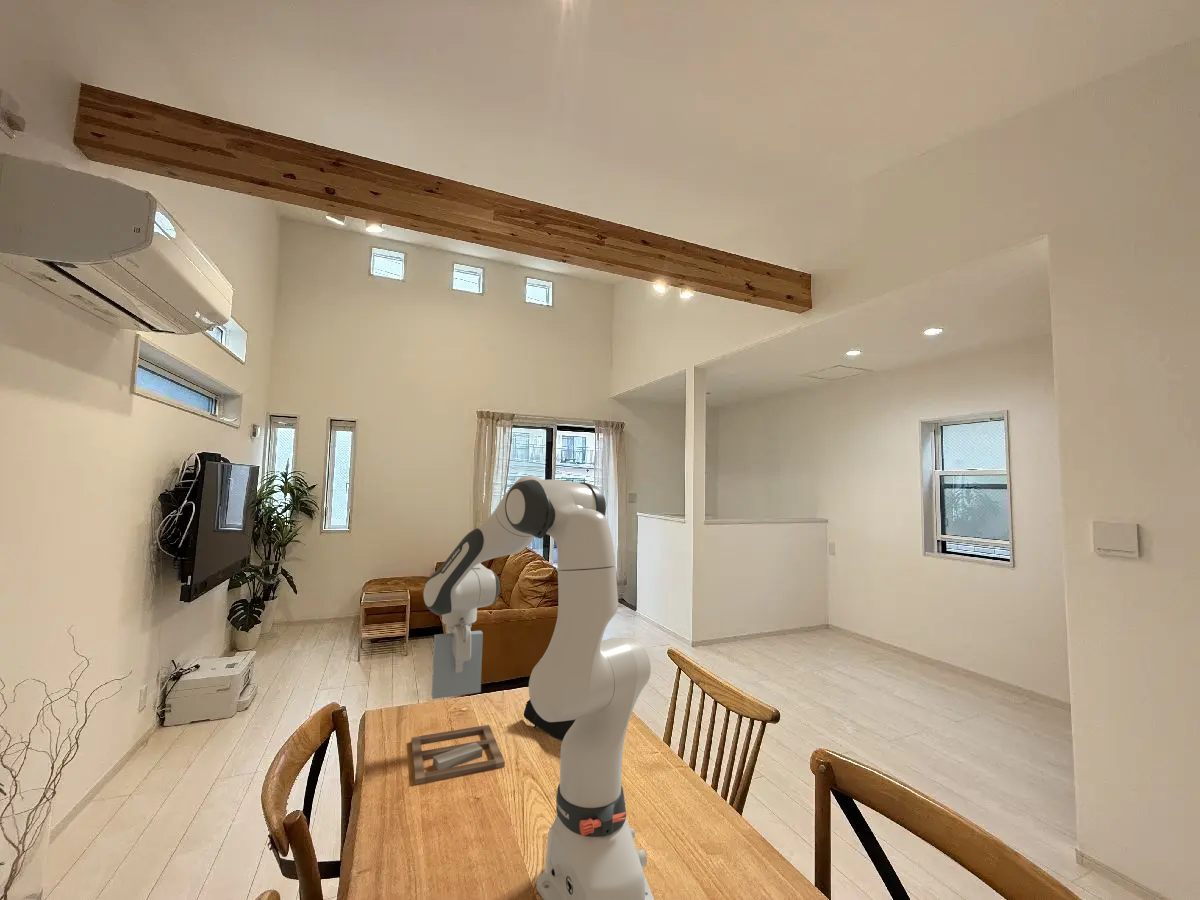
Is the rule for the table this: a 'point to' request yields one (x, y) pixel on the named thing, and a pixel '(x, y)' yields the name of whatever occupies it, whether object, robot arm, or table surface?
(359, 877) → the table surface
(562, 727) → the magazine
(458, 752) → the offcut upper
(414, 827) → the table surface
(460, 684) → the sheet
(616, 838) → the robot arm
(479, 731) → the rack
